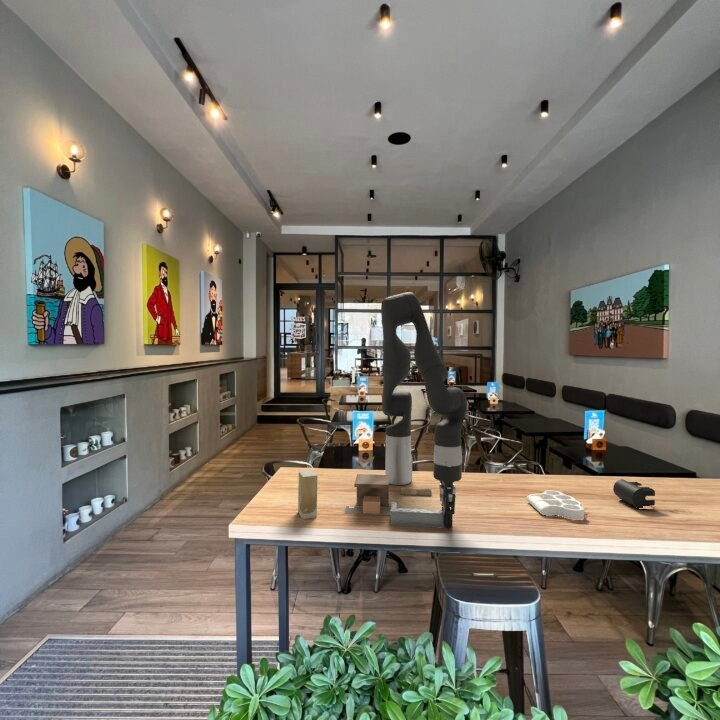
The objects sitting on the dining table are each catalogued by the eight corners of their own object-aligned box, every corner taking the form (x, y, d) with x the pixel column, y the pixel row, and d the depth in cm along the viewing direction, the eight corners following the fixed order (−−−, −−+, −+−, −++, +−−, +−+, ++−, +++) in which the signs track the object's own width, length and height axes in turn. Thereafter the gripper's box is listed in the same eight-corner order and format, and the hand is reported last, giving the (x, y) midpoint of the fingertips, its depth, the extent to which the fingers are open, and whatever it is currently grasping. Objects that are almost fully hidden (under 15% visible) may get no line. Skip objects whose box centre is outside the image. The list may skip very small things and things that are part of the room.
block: (362, 513, 125) (362, 501, 125) (363, 507, 130) (364, 495, 130) (379, 513, 125) (379, 502, 125) (380, 507, 130) (380, 496, 130)
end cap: (612, 499, 140) (613, 478, 140) (634, 499, 140) (634, 479, 140) (632, 510, 130) (633, 488, 130) (655, 510, 130) (656, 488, 130)
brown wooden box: (354, 514, 125) (354, 483, 125) (356, 502, 135) (357, 474, 135) (388, 515, 124) (388, 484, 124) (388, 503, 134) (389, 475, 134)
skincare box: (297, 511, 126) (297, 470, 126) (311, 510, 128) (312, 469, 128) (302, 519, 120) (302, 476, 120) (317, 517, 122) (317, 475, 122)
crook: (390, 525, 117) (390, 511, 117) (391, 515, 124) (391, 501, 124) (452, 528, 115) (452, 513, 115) (449, 518, 122) (449, 504, 122)
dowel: (401, 492, 142) (401, 486, 143) (401, 496, 143) (400, 489, 145) (431, 493, 141) (431, 487, 143) (431, 497, 142) (430, 490, 144)
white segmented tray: (522, 500, 139) (567, 500, 139) (545, 521, 121) (597, 522, 121) (522, 489, 139) (567, 490, 139) (545, 509, 121) (597, 510, 121)
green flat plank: (344, 513, 125) (344, 513, 125) (346, 506, 131) (346, 506, 131) (430, 516, 123) (430, 516, 123) (428, 509, 129) (428, 509, 129)
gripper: (431, 454, 123) (430, 513, 124) (436, 467, 109) (435, 534, 109) (457, 455, 123) (457, 514, 123) (466, 468, 109) (465, 535, 109)
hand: (446, 523), depth 116 cm, fingers open, 4 cm apart
